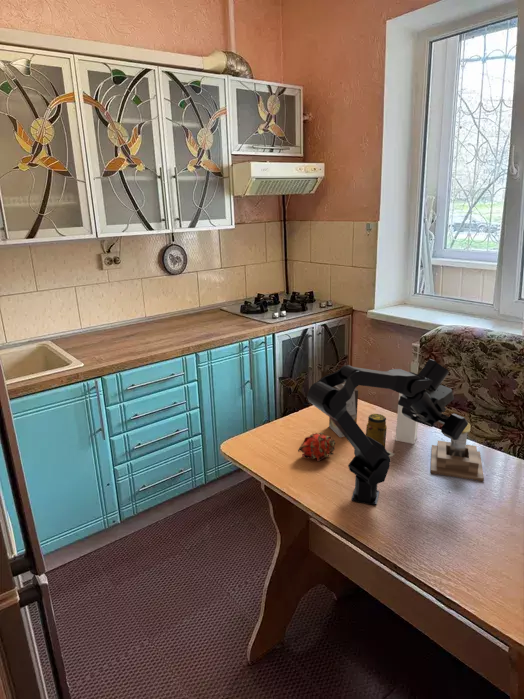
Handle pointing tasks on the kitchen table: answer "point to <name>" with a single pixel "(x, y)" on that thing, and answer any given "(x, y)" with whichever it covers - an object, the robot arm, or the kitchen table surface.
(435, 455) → the block
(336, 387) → the coffee box
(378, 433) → the condiment
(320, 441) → the dragon fruit
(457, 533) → the kitchen table surface
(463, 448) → the pin
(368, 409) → the kitchen table surface
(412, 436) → the milk
